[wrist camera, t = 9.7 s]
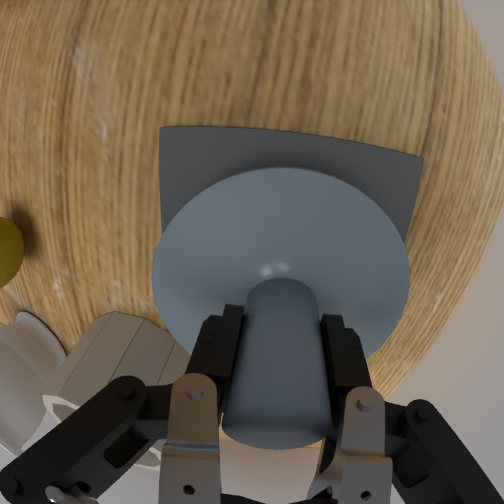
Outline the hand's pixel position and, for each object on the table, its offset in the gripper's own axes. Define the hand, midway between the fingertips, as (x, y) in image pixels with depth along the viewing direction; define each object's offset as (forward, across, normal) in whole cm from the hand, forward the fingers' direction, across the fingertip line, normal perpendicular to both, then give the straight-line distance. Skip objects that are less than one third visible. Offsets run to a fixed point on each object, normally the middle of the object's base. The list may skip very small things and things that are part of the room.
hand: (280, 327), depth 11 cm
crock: (+6, +11, +12) cm, 17 cm away
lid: (+2, 0, 0) cm, 2 cm away
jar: (+6, +26, +14) cm, 30 cm away
